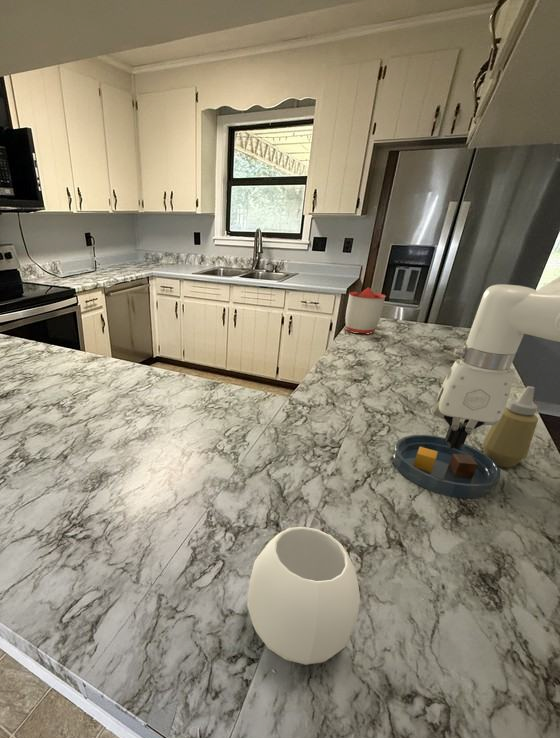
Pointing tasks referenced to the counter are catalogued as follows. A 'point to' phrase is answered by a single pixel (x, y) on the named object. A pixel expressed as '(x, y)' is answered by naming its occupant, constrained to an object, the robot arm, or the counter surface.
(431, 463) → the mustard block
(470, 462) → the walnut block
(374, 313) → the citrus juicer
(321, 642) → the cup
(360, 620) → the counter surface
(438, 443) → the plate
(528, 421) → the squeeze bottle
